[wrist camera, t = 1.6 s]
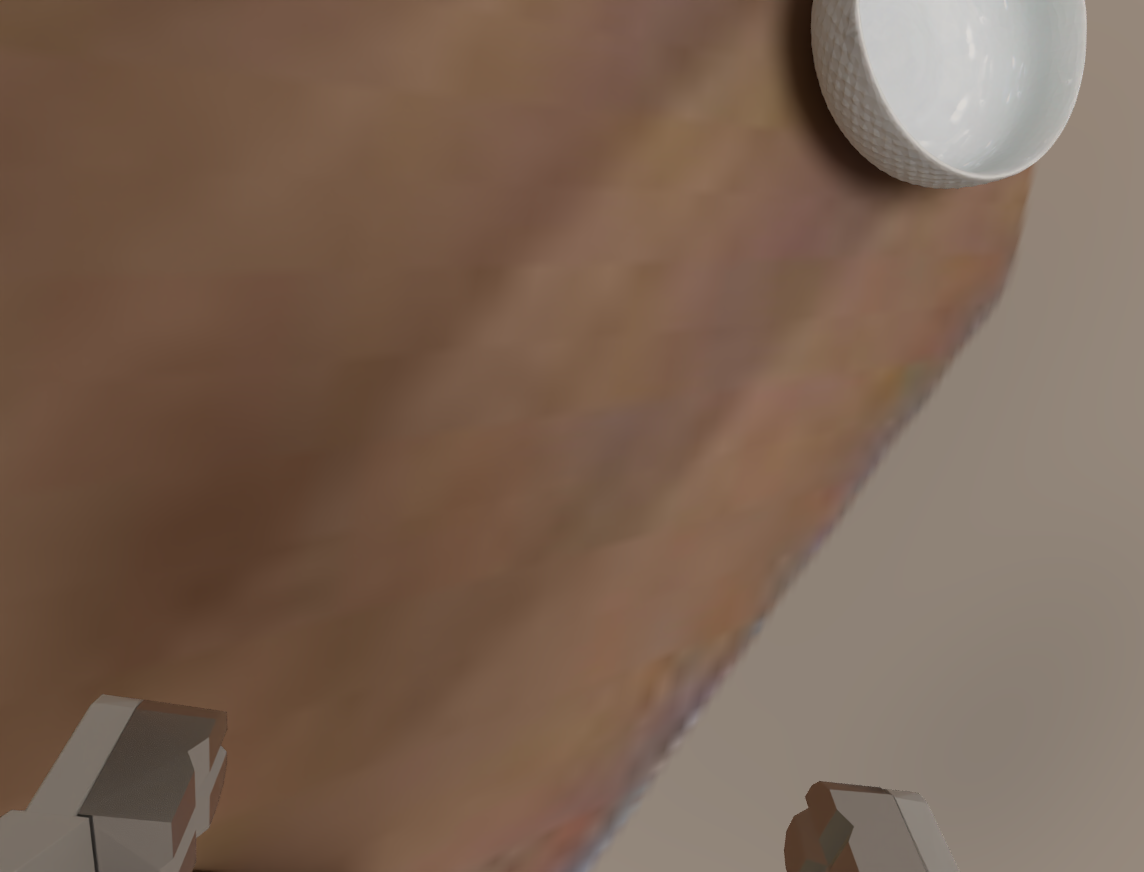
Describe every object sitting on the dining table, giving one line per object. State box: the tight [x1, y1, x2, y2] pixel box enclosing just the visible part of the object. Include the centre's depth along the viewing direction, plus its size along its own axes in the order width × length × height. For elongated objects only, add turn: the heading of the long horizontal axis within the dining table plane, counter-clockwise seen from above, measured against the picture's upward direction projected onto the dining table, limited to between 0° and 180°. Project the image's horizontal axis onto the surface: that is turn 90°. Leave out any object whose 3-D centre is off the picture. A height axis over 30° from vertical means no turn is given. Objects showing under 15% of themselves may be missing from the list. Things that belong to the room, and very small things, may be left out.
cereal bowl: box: [811, 0, 1087, 189], centre depth 44 cm, size 17×17×7 cm
